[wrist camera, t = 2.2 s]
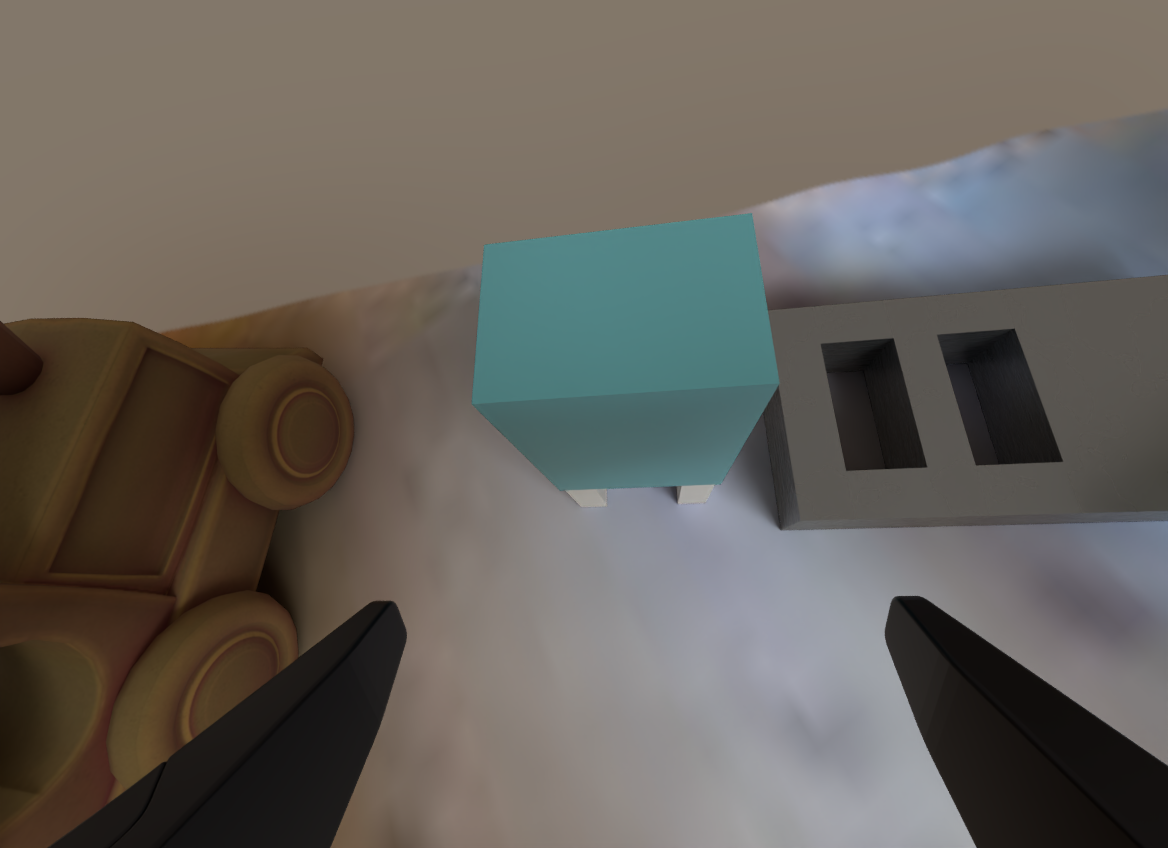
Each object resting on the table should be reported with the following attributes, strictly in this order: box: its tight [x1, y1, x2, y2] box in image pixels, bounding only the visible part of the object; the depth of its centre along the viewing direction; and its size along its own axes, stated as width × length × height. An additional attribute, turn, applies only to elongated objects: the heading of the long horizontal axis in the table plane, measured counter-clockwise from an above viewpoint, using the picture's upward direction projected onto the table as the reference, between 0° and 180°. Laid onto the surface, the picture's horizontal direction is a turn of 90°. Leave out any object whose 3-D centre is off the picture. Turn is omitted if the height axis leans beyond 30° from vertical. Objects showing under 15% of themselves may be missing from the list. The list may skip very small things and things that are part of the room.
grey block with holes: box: [763, 275, 1168, 530], centre depth 19 cm, size 9×18×3 cm, turn 91°
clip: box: [472, 213, 780, 507], centre depth 16 cm, size 4×6×13 cm, turn 91°
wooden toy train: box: [0, 318, 354, 848], centre depth 16 cm, size 20×11×17 cm, turn 176°
